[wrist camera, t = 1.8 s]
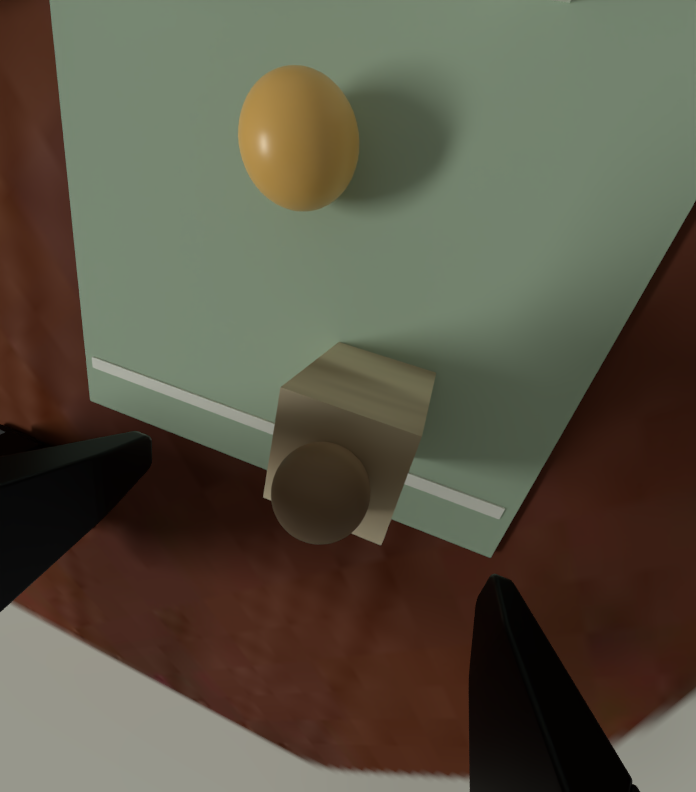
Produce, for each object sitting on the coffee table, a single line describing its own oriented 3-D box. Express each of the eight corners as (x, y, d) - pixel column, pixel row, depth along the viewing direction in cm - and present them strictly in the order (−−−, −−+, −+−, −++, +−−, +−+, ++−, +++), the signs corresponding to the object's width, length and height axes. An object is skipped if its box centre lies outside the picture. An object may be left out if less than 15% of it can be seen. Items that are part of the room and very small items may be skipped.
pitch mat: (490, 551, 17) (490, 559, 16) (96, 397, 20) (88, 401, 20) (1179, -666, 5) (1243, -748, 5) (12, -516, 9) (-11, -555, 9)
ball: (357, 225, 13) (323, 220, 10) (267, 203, 13) (208, 190, 10) (383, 103, 11) (352, 50, 8) (281, 83, 12) (215, 26, 9)
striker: (406, 456, 16) (362, 613, 9) (320, 425, 16) (220, 550, 10) (436, 372, 14) (409, 490, 7) (338, 341, 15) (233, 424, 8)
